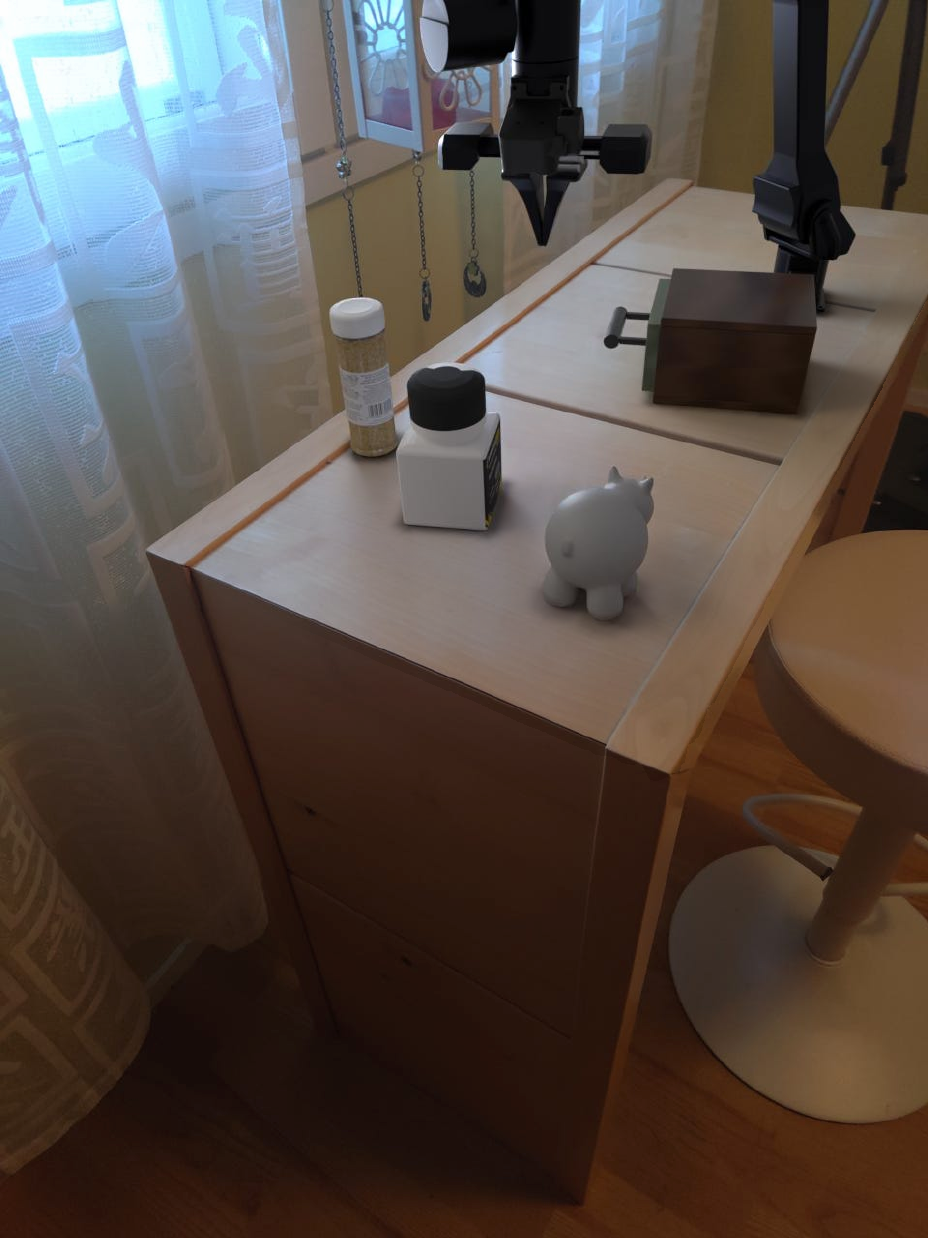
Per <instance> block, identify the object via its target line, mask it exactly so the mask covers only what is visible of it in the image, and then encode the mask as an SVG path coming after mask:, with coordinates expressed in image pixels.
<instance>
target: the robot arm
mask: <svg viewBox="0 0 928 1238" xmlns="http://www.w3.org/2000/svg"><path fill="white" fill-rule="evenodd" d="M581 8H582V0H423V4H422V12H421V13H422V14H421V15H422V16H420V18H419V27H420V38H421V43H422V48H423V52H424V55H425V58H426V60H427V63H428V65H429V66H430V68H431V69H432V70H433V71H434V72H435V73H437V74H439V73H445V72H446V73H447V72H452V71H458V70H467V69H473V68H480V67H486V66H487V67H488V66H493V65H499V64H502V63H503V62H504V61H505V60H506V58H507V56H508V55H509V54H511V69H512V71H511V77H510V86H509V94H510V95H509V100H508V103H507V107H506V110H505V113H504V116H503V120H502V121H501V122H502V123H501V125H500V127H499V131H498V134H497V133H495V131H494V127H493V124H492V122H480V121H479V122H477V121H476V122H475V121H472V122H470V121H468V122H467V121H466V122H465V121H456V122H455V123H454V124H453V125H452V126H451V127H449V129H448V130H447V131H445V132H444V134H443V135H442V136H441V137H440V139H439V140H438V144H437V161H438V169H440V170H442V171H466V172H467V171H468V172H469V171H472V170H473V168H474V167H475V166H476V165H477V163H479V161H480V160H481V159H480V158H495V159H496V158H497V159H500V162H501V171H500V173H499V178H500V180H501V181H504V182H510V183H511V184H512V186H513V187H514V188H515V189H516V190H517V192H518V193H519V194H518V195H519V196H520V198H521V200H522V202H523V204H524V207H525V211H526V212H527V215H528V219H529V222H530V225H531V228H532V231H533V234H534V238H535V239H536V243H537V246H538V247H548V245H549V242H550V239H551V237H552V233H553V230H554V227H555V224H556V221H557V218H558V215H559V212H560V209H561V206H562V203H563V200H564V197H565V195H566V193H567V190H568V189H569V186H570V184H571V183H577V182H579V181H580V180H581V179H582V178H583V175H584V174H585V172H586V171H587V168H588V166H589V165H588V163H589V160H591V161H595V160H596V161H599V162H598V163H599V164H598V165H599V166H600V167H601V168H602V169H603V170H604V172H605V173H606V174H607V175H633V176H634V175H635V176H636V175H641V174H645V172H646V170H647V167H648V165H649V162H650V159H651V157H652V156H651V155H652V144H653V143H652V142H653V131H652V130H651V129H650V126H649V125H648V124H646V123H645V124H643V123H642V124H641V123H636V124H635V123H609V124H608V125H607V127H606V129H605V130H604V131H603V134H602V135H585V116H584V110H583V109H584V108H583V107H582V106H578V105H579V103H578V102H579V71H580V70H579V68H580V43H581V42H580V41H581V40H580V39H581V11H582V9H581ZM829 21H830V0H772V44H773V45H772V63H773V64H772V65H773V66H772V71H773V72H772V73H773V74H772V76H773V77H772V78H773V80H772V82H773V84H772V86H773V87H772V88H773V89H772V90H773V93H772V94H773V153H772V157H771V159H770V160H769V163H768V165H767V166H766V168H765V170H764V172H763V173H759V174H755V175H754V176H753V177H752V188H753V194H754V199H753V201H754V202H753V205H752V208H751V213H753V214H756V215H757V220H758V222H759V224H760V225H762V231H763V239H764V240H765V241H767V242H772V243H774V244H776V245H777V251H776V256H775V262H774V267H773V272H772V273H793V274H813V276H814V290H815V305H816V313H824V312H825V310H826V300H825V289H824V285H825V282H826V276H827V272H828V268H829V263H830V261H838V258H839V257H841V256H845V255H847V254H848V253H849V251H850V249H851V247H852V245H853V243H854V240H855V238H856V232H855V230H854V229H853V227H852V226H851V224H850V223H849V221H848V220H847V219H846V217H845V216H844V213H843V212H842V211H841V209H842V199H841V190H840V189H841V188H840V180H839V176H838V173H837V170H836V169H835V166H834V165H833V162H832V161H831V159H830V156H829V154H828V152H827V150H826V117H827V115H826V114H827V87H828V84H827V83H828V56H829V55H828V52H829V28H830V27H829V24H830V23H829ZM544 176H545V183H544ZM544 184H545V185H546V193H545V185H544ZM545 194H546V195H545Z"/></svg>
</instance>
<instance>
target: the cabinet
mask: <svg viewBox="0 0 928 1238" xmlns="http://www.w3.org/2000/svg"><path fill="white" fill-rule="evenodd" d="M669 279H670V283H669V287H668V291H667V295H666V300H665V304H664V308H663V312H662V316H661V323H660V333H659V343H658V353H657V363H656V373H655V382H654V392H653V394H652V403H653V404H661V405H662V404H663V405H676V406H687V407H700V408H713V409H714V408H715V409H725V410H737V411H751V412H763V413H775V414H777V413H778V414H787V415H798V414H799V410H800V407H801V401H802V397H803V392H804V388H805V383H806V381H807V380H806V379H807V375H808V370H809V366H810V361H811V356H812V352H813V348H814V343H815V338H816V334H817V329H818V323H817V322H818V321H817V312H816V305H815V290H814V276H813V274H793V273H773V272H771V271H770V272H768V271H767V272H766V271H745V270H727V269H726V270H723V269H704V268H703V269H702V268H701V269H700V268H683V267H682V268H680V267H679V268H678V267H673V268H672V271H671V276H670V278H669Z"/></svg>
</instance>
